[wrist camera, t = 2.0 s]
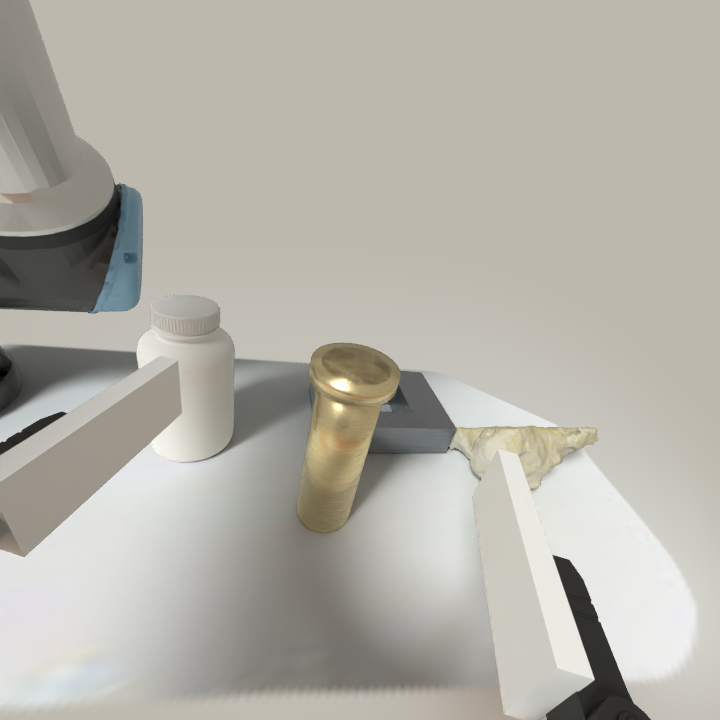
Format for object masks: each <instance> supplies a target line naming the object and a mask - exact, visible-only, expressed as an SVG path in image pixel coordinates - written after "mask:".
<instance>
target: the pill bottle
mask: <svg viewBox="0 0 720 720" xmlns="http://www.w3.org/2000/svg"><path fill="white" fill-rule="evenodd" d="M150 312H151V321H152V323H151V329H149V330H148V331H147V332H146V333H144V334H143V335H142V337H141V338H140V340H139V342H138V344H137V349H136V355H137V362H138V368H139V369H140V368H142V367H143V366H145V365H146V364H148V363H150V362H151V361H153V360H154V359H156V358H158V357H159V356H164V357H168V358H171V359H175V360H178V365H179V378H180V391H181V404H182V414H181V415H180V416H179V417H178V418H176V419H175V420H174V421H173V422H172V423H171V424H170V425H169V426H168V427H167V428H165V429H164V430H163V431H162V432H161V433H160V434H159V435H158V436H157V437H156V438H154V439H153V440H152V441H151V444H152V447H153V449H154V450H155V451H156V452H157V453H158V454H159V455H160V456H162V457H163V458H165V459H168V460H171V461H175V462H194V461H199V460H203V459H206V458H209V457H211V456H213V455H215V454H217V453H218V452H220V451H221V450H222V449H224V448H225V447H226V446H227V444H228V443H229V442H230V440H231V438H232V435H233V429H234V345H233V342H232V339H231V337H230V336H229V334H227V332H225V331H224V330H223V329H221V328H220V327H219V324H220V307H219V306H218V304H217V303H215V302H214V301H212V300H210V299H207V298H204V297H200V296H193V295H172V296H166V297H162V298H159V299H157V300H156V301H154V302H153V303H152V304H151V306H150Z"/></svg>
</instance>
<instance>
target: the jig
mask: <svg viewBox="0 0 720 720" xmlns="http://www.w3.org/2000/svg"><path fill="white" fill-rule="evenodd" d="M400 374H401V376H400V380H399V384H398V387H397V390H396V393H395V395H394V397H393V398H392V399H391V400H390V401H388V402H386V403H384V404H390V406H391V408H392V411H393V412H380V413H379V416H378V419H377V423H376V426H375V429H374V433H373V436H372V440H371V443H370V446H369V450H368V453H367V454H377V453H446V451H447V449H448V447H449V444H450V442H451V440H452V438H453V436H454V433H455V431H456V427H455V426H454V424H453V423H452V421H451V419H450V418H449V416H448V415H447V413H446V411H445V410H444V408H443V407H442V405H441V403H440V402H439V400H438V399H437V397H436V395H435V394H434V392H433V391H432V389H431V387H430V386H429V384H428V383H427V381H426V379H425V378H424V376H423V375H422V373H419V372H405V371H400ZM315 394H316V388H315V387H314V386H313V385H312V383H310V398H311V407H312V412H313V406H314V400H315Z"/></svg>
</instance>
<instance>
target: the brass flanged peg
mask: <svg viewBox="0 0 720 720" xmlns="http://www.w3.org/2000/svg"><path fill="white" fill-rule="evenodd" d="M400 376H401V374H400V370H399V368H398V366H397V365H396V363H395V362H394V361H393V360H392V359H390V358H389V357H388V356H386V355H385V354H383V353H381V352H379V351H377V350H375V349H372V348H369V347H367V346H363V345H359V344H352V343H333V344H328V345H325V346H322V347H320V348H318V349H317V350H316V351H315V352H314V353H313V355H312V358H311V363H310V370H309V378H310V381H311V383H312V385H313V386H314V387H315V388H316V394H315V400H314V406H313V412H312V418H311V424H310V430H309V436H308V442H307V448H306V453H305V459H304V465H303V471H302V477H301V483H300V489H299V495H298V501H297V515H298V517H299V519H300V521H301V522H302V524H303V525H304V526H305V527H307V528H308V529H310V530H312V531H314V532H317V533H331V532H334V531H337V530H338V529H340V528H341V527H342V526H343V525H344V524H345V523H346V521H347V520H348V517H349V514H350V510H351V507H352V504H353V500H354V497H355V494H356V490H357V487H358V483H359V480H360V477H361V473H362V470H363V467H364V463H365V460H366V456H367V453H368V450H369V446H370V443H371V440H372V436H373V433H374V429H375V426H376V423H377V419H378V416H379V413H380V409H381V406H382V404H384V403H386V402H388V401H390V400H391V399H392V398H393V397H394V395H395V393H396V390H397V387H398V384H399V380H400Z"/></svg>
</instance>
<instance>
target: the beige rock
mask: <svg viewBox="0 0 720 720" xmlns="http://www.w3.org/2000/svg"><path fill="white" fill-rule="evenodd" d="M598 440H599V437H598V435H597V429H596V428H591V427H584V428H583V427H580V428H563V427H547V428H544V427H535V426H527V427H508V426H506V427H498V426H495V427H484V428H462V427H461V428H456V431H455V433H454V436H453V438H452V440H451V442H450V444H449V447H450V449H454V448H456V449H459V450H460V451H462V452H463V453H464V454H465V455H466V457H468V458H469V459H470V466H471V468H472V471H473V472H474V473H475V474H476V475H477V476H479V477H480V478H481V479H482V477H483V475H484V474H485V472H486V470H487V468H488V466H489V464H490V462H491V461H492V459H493V457H494V455H495V453H496V451H497V449H501V450H505V451H508V452H512V453H515V454H518V456H519V459H520V462H521V465H522V468H523V471H524V473H525V476H526V479H527V482H528V485H529V488H530V489H534V488H538V487H540V485H541V479H542V477H543V476H544V475H545V474H546V473H548V472H549V470H550V469H551V468H553V467H554V466H556V465H559V464H560V463H562V457H564V456H566V455H567V454H568V453H571V452H574V451H576V450H578V449H580V448H583V447H584V446H585V445H588V444H589V445H593V444H594V442H595V441H598Z"/></svg>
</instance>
